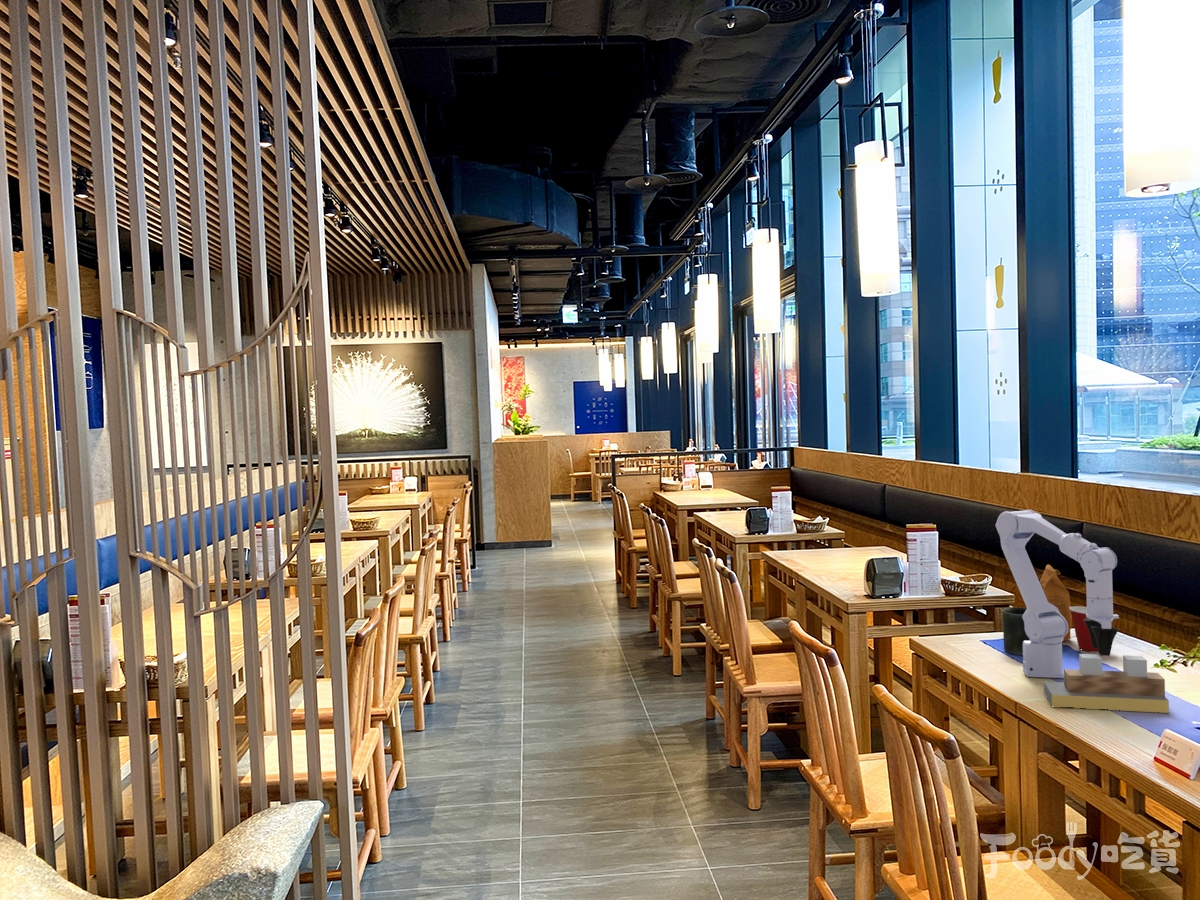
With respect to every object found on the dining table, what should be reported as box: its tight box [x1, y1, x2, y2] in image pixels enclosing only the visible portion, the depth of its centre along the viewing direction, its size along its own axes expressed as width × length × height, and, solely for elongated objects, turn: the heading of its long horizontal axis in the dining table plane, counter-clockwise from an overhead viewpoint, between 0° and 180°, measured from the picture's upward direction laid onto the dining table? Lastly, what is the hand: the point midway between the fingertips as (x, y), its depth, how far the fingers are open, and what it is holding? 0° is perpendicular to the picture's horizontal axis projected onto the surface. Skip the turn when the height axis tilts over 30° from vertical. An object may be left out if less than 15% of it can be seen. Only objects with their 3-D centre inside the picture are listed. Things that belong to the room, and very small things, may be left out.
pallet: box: [1063, 668, 1166, 697], centre depth 214 cm, size 20×6×4 cm, turn 72°
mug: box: [1000, 606, 1041, 656], centre depth 265 cm, size 11×15×12 cm
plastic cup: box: [1069, 605, 1098, 652], centre depth 263 cm, size 11×11×12 cm
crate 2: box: [1122, 654, 1148, 677], centre depth 212 cm, size 4×4×4 cm
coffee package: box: [1039, 564, 1073, 641], centre depth 279 cm, size 10×12×22 cm
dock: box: [1043, 681, 1170, 714], centre depth 214 cm, size 24×11×3 cm, turn 72°
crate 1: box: [1078, 653, 1103, 676], centre depth 215 cm, size 4×4×4 cm
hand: (1101, 651), depth 225 cm, fingers open, 7 cm apart
